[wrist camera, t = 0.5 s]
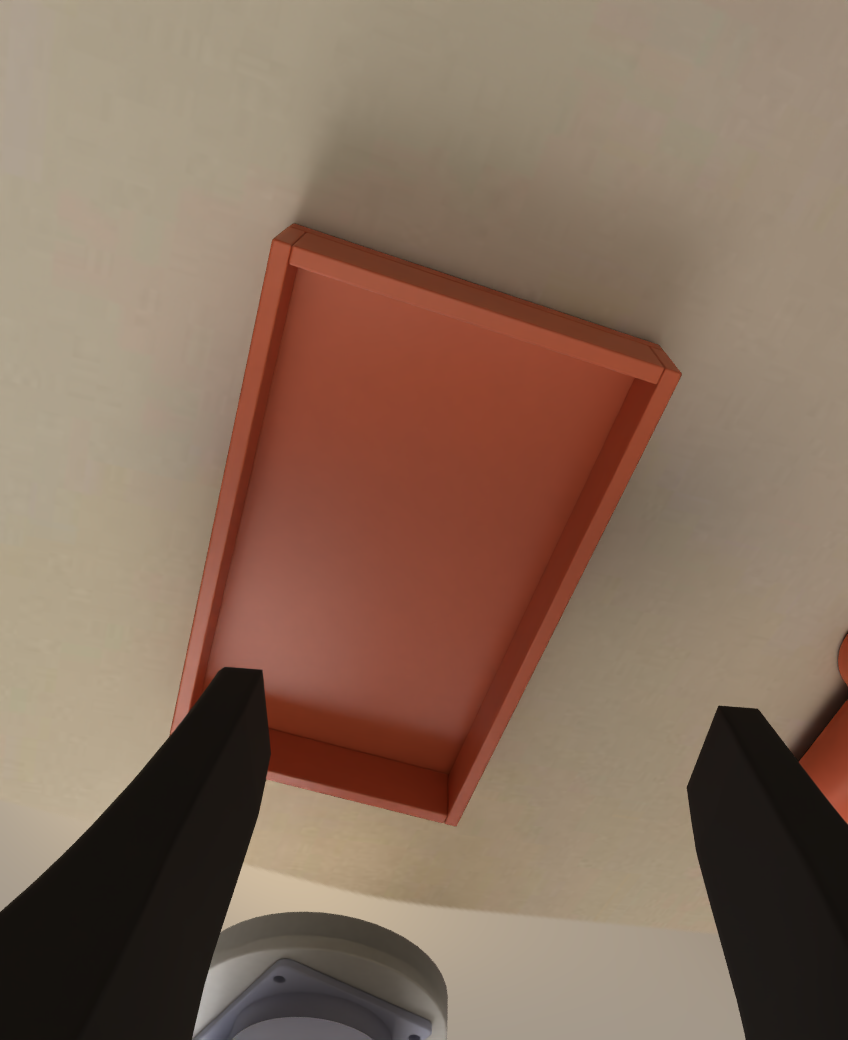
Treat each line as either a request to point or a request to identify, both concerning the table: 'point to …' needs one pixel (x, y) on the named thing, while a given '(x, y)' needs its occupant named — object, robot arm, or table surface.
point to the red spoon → (832, 751)
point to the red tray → (408, 514)
